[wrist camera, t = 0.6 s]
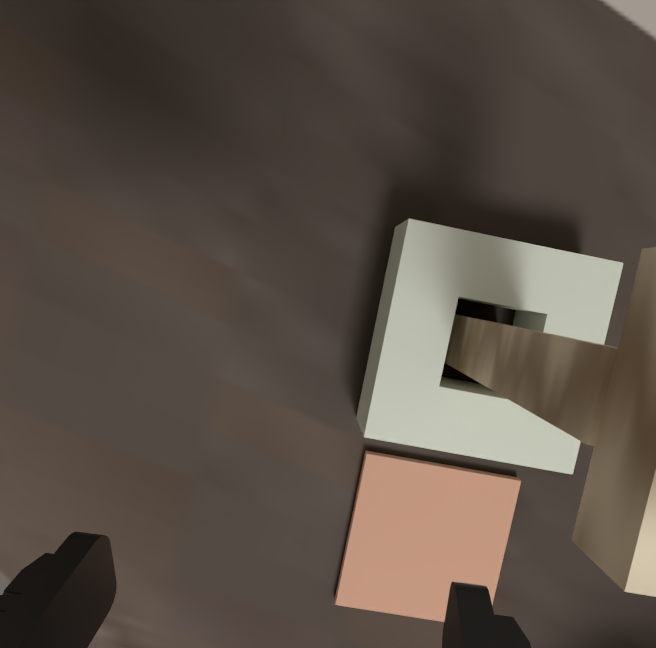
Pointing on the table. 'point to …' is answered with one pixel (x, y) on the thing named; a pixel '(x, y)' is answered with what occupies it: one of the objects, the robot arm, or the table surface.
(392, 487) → the mat
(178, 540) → the table surface
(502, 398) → the socket block
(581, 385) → the t key
